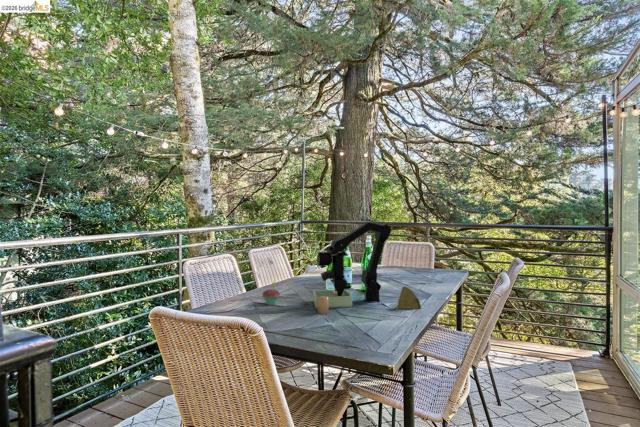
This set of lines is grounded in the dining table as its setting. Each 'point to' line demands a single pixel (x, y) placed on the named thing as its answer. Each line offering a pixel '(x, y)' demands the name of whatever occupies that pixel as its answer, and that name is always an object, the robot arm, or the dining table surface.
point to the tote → (334, 298)
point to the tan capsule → (323, 304)
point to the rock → (408, 300)
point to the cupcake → (271, 295)
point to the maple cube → (336, 293)
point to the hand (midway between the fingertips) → (338, 296)
